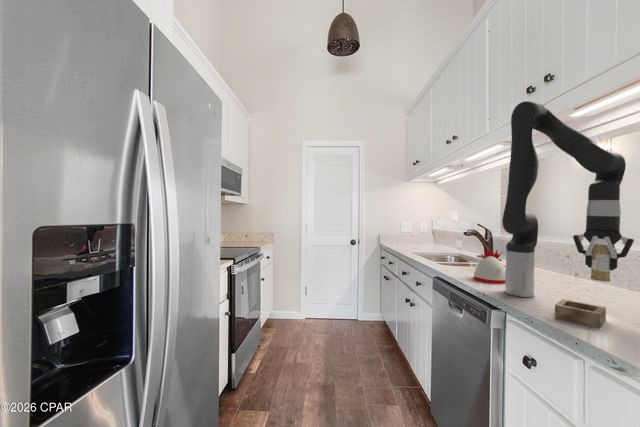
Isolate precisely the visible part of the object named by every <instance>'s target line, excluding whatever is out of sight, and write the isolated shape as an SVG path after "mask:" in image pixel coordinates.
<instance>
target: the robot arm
mask: <svg viewBox="0 0 640 427" xmlns="http://www.w3.org/2000/svg"><path fill="white" fill-rule="evenodd" d="M510 129H511V145H510V158H509V159H510V161H509V169H508V182H507V189H506V190H507V191H506V192H507V193H506V200H505V206H504V210H503V215H502V221H501V222H502V226H503V229H504V231H505V232H506V233H508V234H510V235H512V237H511V239H510V240H509V242H507V243H506V245H505V246H506V247H505V248H506V249H505V250H506V251H505V252H506V253H505V271H506V275H505V284H504V285H505V286H504V288H505V293H506V294H508V295H511V296H515V297H521V298H534V297H535V250H536V247H537V244H538V236H539V235H538V234H539V221H538V219H537V217H536V215H535V214H534V213H532V212H531V211H526V209H527V208H526V207H527V202H528V201H527V200H528V197H529V195H530V192H531V191H532V189H533V187H534V186H535V184H536V181H537V179H538V175H539V164H540V163H539V156H538V153H537V150H536V147H535V145H534V141H533V130H535V131H537V132H540V133H542V134H544V135H546V137H547V138H549V139H550V140H551V142H552V143H553V144H554V145H555V146H556V147H557V148H559V149H560V150H562V151H563V152H564V153H566V154H568V155H569V156H570V157H571V158H574V159H575V161H576V162H577V163H578V164H579V165H580V166H581V167H582V168H584V169H585V170H587V171H588V172H590V173H593V174H595V178H594V182H592V183H590V184H589V186H588V190H587V192H588V193H587V197H588V198H587V205H586V217H585V219H586V220H585V232H584V233H583V234H575V235H573V236H572V238H573V241H574V244H575V247H576V250H577V252H578V253H579V254H582V255H584V256H585V260H584V261H585V262H584V263H585V265H586V266H587V268H591V261H592V251H593V248H594V246H595V244H594V241H595V240H596V239H598V238H600V239H605V240H606V242H608V245H607V247H608V250H609V252H610V254H611V258H610V271H614V270H616V269H617V268H618V260H619V259H620V258H621V259H622V258H625V257H627V256H628V253H629V251H630V250H631V248H632V246H633V243H634V242H635V239H634V238H630V237H626V236H623V235H622V234H621V232H620V230H621V229H620V228H621V214H622V213H621V212H622V211H621V204H620V199H621V198H620V197H621V184H622V182H623V178H624V174H625V172H626V166H627V164H626V160H625V157H624V156H623V155H622V154H621V153H618V152H614V151H609V150H605V149H604V148H602V147H600V146H599V145H597V143H596V141H594V139H592V138H590V137H589V136H587V135H586V134H584V133H582V132H580V131H578V129H576V128H573V127H571V126H569V125H568V124H567V123H565V122H563V121H562V120H560V119H559V118H558V117H557V116H555V115H554V113H552V111H551V110H550V109H548V108H547V107H546V106H545V105H544V104H541V103H537V102H534V101H521V102H519V103H518V104H517V105H516V106H515V107H514V108H513V111H512V113H511V117H510ZM584 238H585V239H586V240H587V241H588V243H589V244H588V245H587V249H584V245H583V243H582V241H583V240H584ZM620 240H621V242H622V244H623V245H624V246H623V247H622V250H621V252H619V253H618V252H617V250H616V246H615V245H616V244H617V243H618V242H619V241H620Z"/></svg>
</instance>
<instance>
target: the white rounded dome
mask: <svg viewBox="0 0 640 427" xmlns="http://www.w3.org/2000/svg"><path fill="white" fill-rule="evenodd" d="M498 252H499V251H498V250H495V253H494V249H491V251H490V249H488V250H487V251H484V254H483V253H481V256H482V258H481V260H479V262H478V263H477V265H476V267H475V270H474V274H473V279H474V280H475V281H477V282H480V283H481V282H482V283H487V284H494V285H495V284H496V285H500V284H501V285H503V284H504V285H505V275H506V265H504V264H503V262H501V261H500V260H499V258H500V257H501V252H500V253H498Z"/></svg>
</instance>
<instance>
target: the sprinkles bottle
mask: <svg viewBox="0 0 640 427" xmlns="http://www.w3.org/2000/svg"><path fill="white" fill-rule="evenodd" d="M594 244H595V246H594V248H593V251H592V255H591V256H592V261H591V272H590V280H592V281H594V282H595V281H597V282H602V283H603V282H604V283H605V282H606V283H607V282H611V279H610V278H611V270H610V258H611V254H610V252H609V250H608V247H607V245H608V242H606V240H605V239H600V238H598V239H596V240H595V241H594Z"/></svg>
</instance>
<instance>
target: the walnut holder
mask: <svg viewBox="0 0 640 427" xmlns="http://www.w3.org/2000/svg"><path fill="white" fill-rule="evenodd" d="M554 318H555V319H559V320H563V321H566V322H567V321H568V322H571V323H576V324H580V325H584V326H589V327H592V328H597V329H601V328H602V326H603V325H604V324H605V322H606V320H607V307H606V306H601V305H596V304H591V303H585V302H582V301H576V300H570V299H564V298H563V299H561V300H560V301H558V302H557V303H555V304H554Z"/></svg>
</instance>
